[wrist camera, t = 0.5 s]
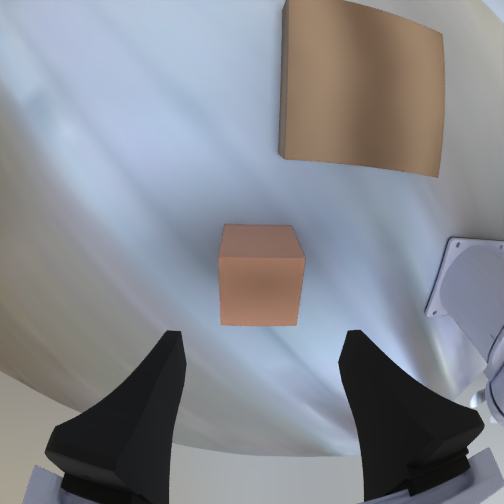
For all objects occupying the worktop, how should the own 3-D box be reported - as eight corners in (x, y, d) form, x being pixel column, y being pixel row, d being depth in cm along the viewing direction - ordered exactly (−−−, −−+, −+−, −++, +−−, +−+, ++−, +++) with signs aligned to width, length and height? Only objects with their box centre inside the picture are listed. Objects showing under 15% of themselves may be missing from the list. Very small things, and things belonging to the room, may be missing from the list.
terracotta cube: (291, 225, 19) (305, 258, 15) (286, 282, 21) (296, 325, 17) (224, 224, 19) (218, 257, 15) (225, 281, 21) (220, 325, 17)
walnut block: (415, 42, 14) (442, 34, 10) (411, 167, 18) (438, 177, 15) (281, 12, 13) (289, -9, 10) (277, 153, 18) (284, 159, 14)
